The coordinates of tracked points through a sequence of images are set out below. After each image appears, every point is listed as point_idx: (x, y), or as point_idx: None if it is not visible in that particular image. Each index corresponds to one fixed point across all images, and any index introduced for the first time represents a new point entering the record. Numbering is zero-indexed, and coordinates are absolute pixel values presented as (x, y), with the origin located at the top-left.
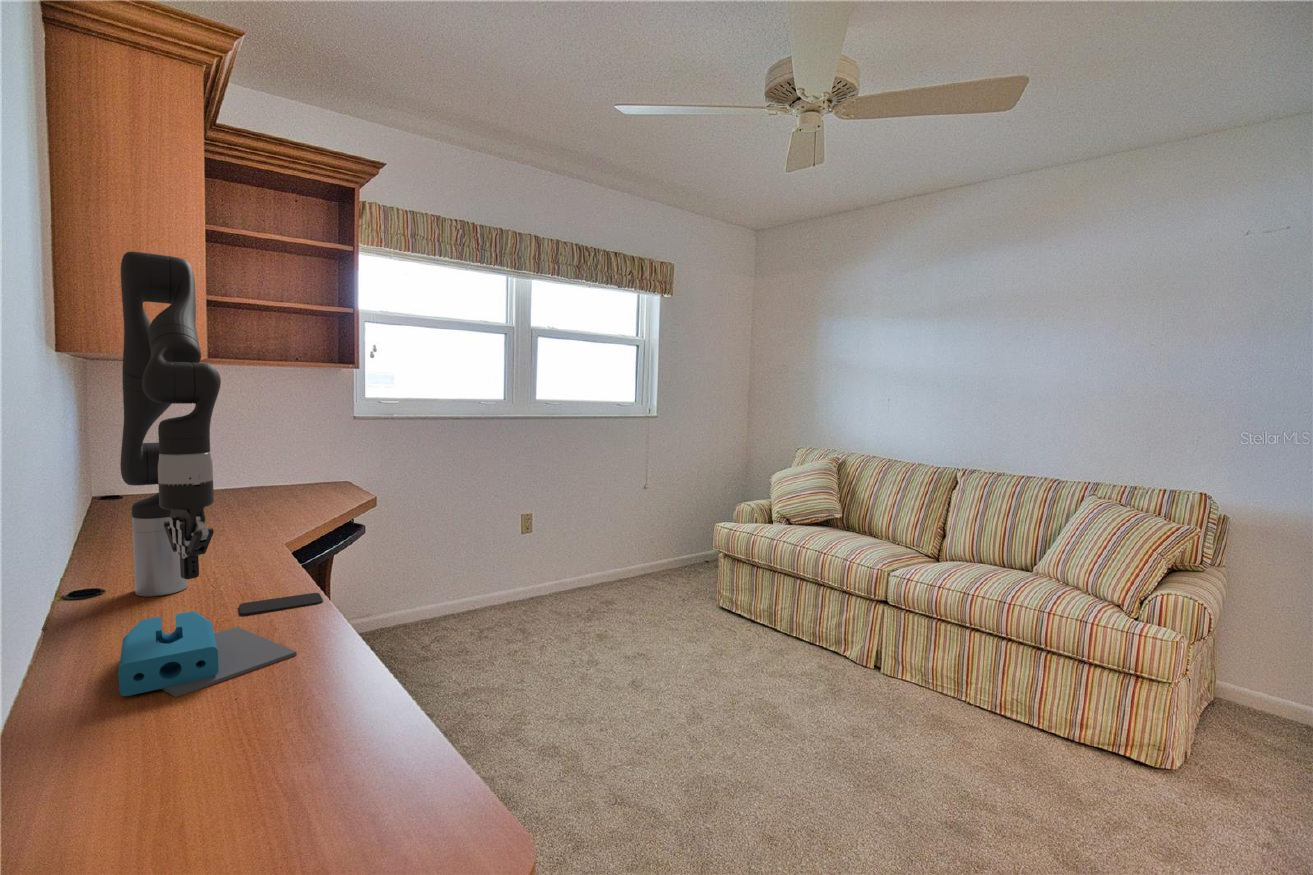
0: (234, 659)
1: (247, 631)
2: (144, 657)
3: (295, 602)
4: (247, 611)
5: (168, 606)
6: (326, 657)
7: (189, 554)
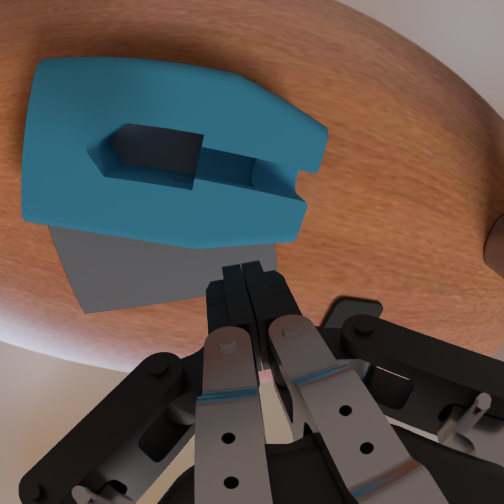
0: (103, 239)
1: None
2: (39, 98)
3: None
4: (342, 309)
5: (458, 229)
6: (60, 329)
7: (140, 367)
